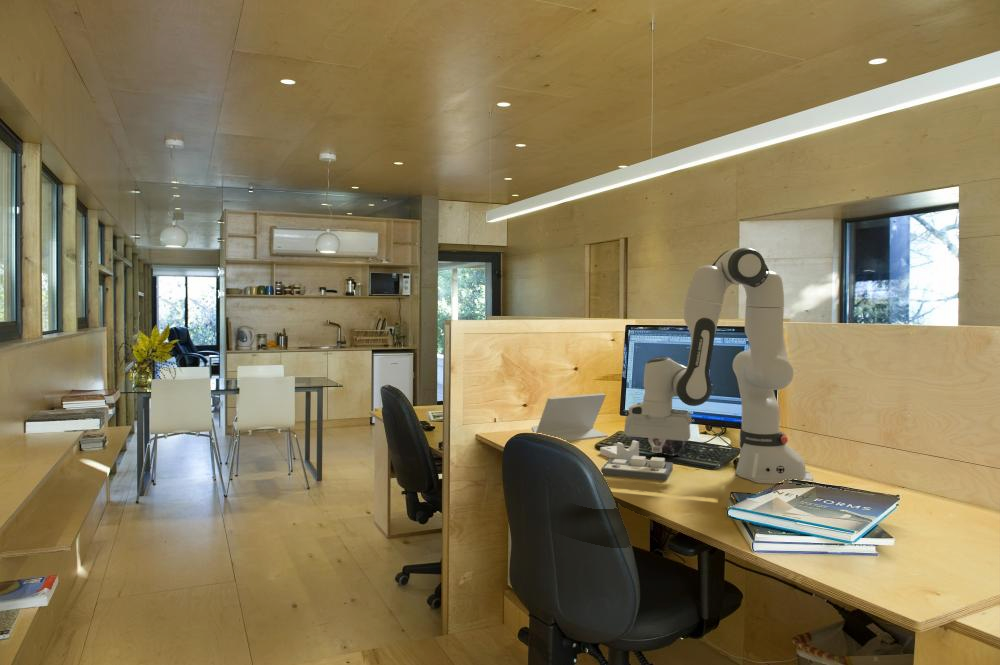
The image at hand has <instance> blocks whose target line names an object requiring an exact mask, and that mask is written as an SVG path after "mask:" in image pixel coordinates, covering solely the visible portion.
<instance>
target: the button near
mask: <svg viewBox="0 0 1000 665" xmlns="http://www.w3.org/2000/svg"><path fill="white" fill-rule="evenodd" d="M649 461H650V467H651V468H662V469H663V468H664V466H665V462H666V458H665V457H657V456H655V457H654V456H652V457H651V458H650V460H649Z"/></svg>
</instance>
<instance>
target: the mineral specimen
mask: <svg viewBox="0 0 1000 665" xmlns="http://www.w3.org/2000/svg"><path fill="white" fill-rule="evenodd" d="M685 442H686V441H680V440H668V439H666V441H665V443H664V445H663V446H662V452H661V453H667V454H676V453H678V454H679V453H680V452H681V451H682V449H683V448H684V447H685ZM653 443H654V445H655V446H660V445H661V443H662V442H660V439H656V438H654V440H653Z"/></svg>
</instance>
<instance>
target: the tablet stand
mask: <svg viewBox="0 0 1000 665" xmlns="http://www.w3.org/2000/svg"><path fill="white" fill-rule="evenodd" d="M605 398H606V394H605V393H604V392H602V393H593V394H592V393H591V394H589V393H588V394H581V395H580V394H578V395H569V396H567V395H566V396H555V397H554V396H553V397H548V398H547V400H546V402H545V405H544V408H543V411H542V414H541V417H540V419H539V422H538V425H533V426H532V427H531V431H532V432H536V433H542V434H546V435H550V436H554V437H558V438H561V439H563V440H566V442H574V441H582V440H590V439H591V440H592V439H601V438H608V437H609V434H606V433H604V432H601V431H599V430H596V429H595V428H594V426H595V423H596V421H597V418H598V415H599V413H600V412H601V408H602V406H603V404H604V401H605Z"/></svg>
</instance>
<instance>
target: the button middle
mask: <svg viewBox="0 0 1000 665" xmlns="http://www.w3.org/2000/svg"><path fill="white" fill-rule="evenodd" d="M646 460H647V457H646V456H643V455H639V456H634V455H633V457H632V458H631V466H640V467H644V466H645V465H646Z"/></svg>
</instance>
